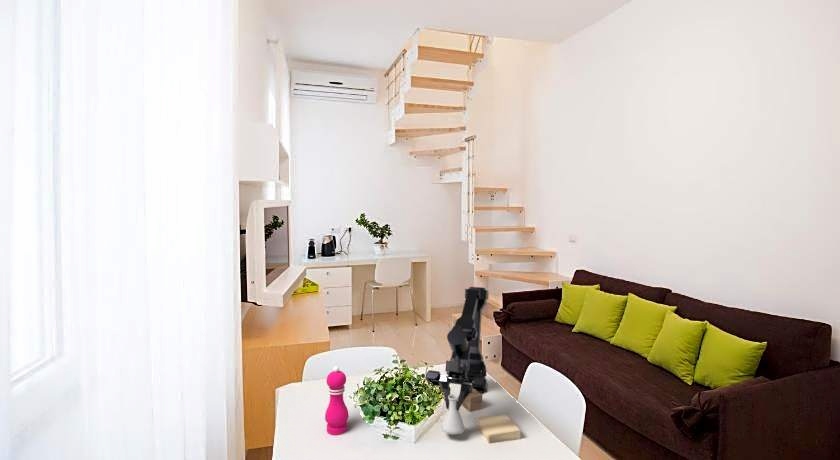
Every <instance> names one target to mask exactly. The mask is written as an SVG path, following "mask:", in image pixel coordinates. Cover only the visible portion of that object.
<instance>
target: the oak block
mask: <svg viewBox="0 0 840 460" xmlns="http://www.w3.org/2000/svg"><path fill="white" fill-rule="evenodd" d="M475 423H476V428H477V429H478V431H480V433H481V434H482V436H483V437H484V439H485V440H486V442H487V443H488V444H489V445H490V444H496V443H503V442H508V441H516V440H520V439H521V432H522V431H521V429H520V428H519V427H518V426H517V425H516V424H515V423H514V422H513V420H511V418H509V416H508V414H496V415H490V416H483V417H476V422H475Z"/></svg>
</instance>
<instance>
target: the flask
mask: <svg viewBox="0 0 840 460" xmlns="http://www.w3.org/2000/svg"><path fill="white" fill-rule="evenodd" d="M458 398H459V395H458V394H451V393H450V395H449V396H448V399H449V407H448V409H447V410H446V414H445V416H444V419H443V422H442V424H441V430H442V432H443V433H444V434H445V433H446V434H449V435H462V434H463V433H464V431H466V427H465V424H464V421H463V419H462V415H461V412H460V409H459V410H458V411H457V403H458Z"/></svg>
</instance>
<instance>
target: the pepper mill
mask: <svg viewBox="0 0 840 460" xmlns="http://www.w3.org/2000/svg"><path fill="white" fill-rule="evenodd" d="M346 382H347V376H346V374H345V372H344V371H341V370H340V368H339V366H337V365H335V366H334V367H333V369H332V371H331V372H330V373H328V375H327V377H326V386H328V390H327V394H329V403H328V405H327V408H326V409H325V413H324V419H325V422H326V433H327V434H329V435H333V436H338V435H343V434H344V433H346V432H347V431H348V422H347V421H348V419H349V417H350V415H349V410H348V407H347V405H346V403H345V400H344V392H345V390H346V389H345V387H346V386H345V384H346Z"/></svg>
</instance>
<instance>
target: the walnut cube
mask: <svg viewBox="0 0 840 460" xmlns="http://www.w3.org/2000/svg"><path fill="white" fill-rule="evenodd" d="M461 407H463V408H465V410H467V411H468V412H469V413H472V412H475V411H479V410H483V393H479V392H478V391H476V390H475V389H473V393H470V394H469V395H468V396H467V397H466V399H465V400H464V402H463V403H462V405H461Z"/></svg>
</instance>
